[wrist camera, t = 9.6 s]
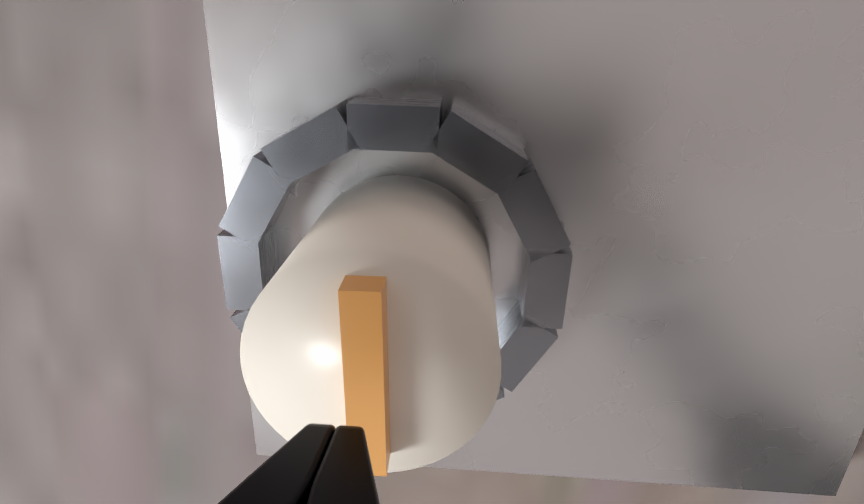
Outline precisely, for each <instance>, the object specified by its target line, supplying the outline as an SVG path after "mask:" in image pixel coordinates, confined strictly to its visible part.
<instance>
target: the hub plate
mask: <svg viewBox="0 0 864 504" xmlns="http://www.w3.org/2000/svg"><path fill="white" fill-rule="evenodd" d="M203 6H204V15H205V23H206V31H207V40H208V48H209V57H210V65H211V73H212V82H213V90H214V99H215V107H216V115H217V124H218V132H219V141H220V149H221V157H222V166H223V174H224V183H225V191H226V199H227V210H226V212H225V214H224V216H223V218H222V220H221V223H220V225H219V227H221V228H222V229H224V230H223V231H222V232H221V233H220V234H219V235H217V238H218V246H219V254H220V261H221V269H222V277H223V285H224V292H225V300H226V308H227V309H231V310H236V311H235V312H234V314H233V315H232V316H231V317H230V318H231V319H232V321H233V322H234V323H235V325H236V326H237V327H238V329H239V330H240V331H241V333H242V331H243V327H244V323H245V320H246V318H247V315H248V313H249V311H250V308H251V307H252V305H253V304H254V302H255V300H256V299H257V297H258V296H259V294H260V293H261V292H262V290H263V289H264V288H265V286H266V285H267V284H268V283H269V281H270V280H271V279H272V277H273V276H274V275H275V274H276V272H277V271H278V270H279V268H280V267H281V266H282V265H283V263H284V262H285V261H286V259H287V258H288V257H289V255H290V254H291V253H292V252H293V250H294V249H295V248H296V246H297V245H298V244H299V243H300V241H301V240H302V239H303V237H304V236H305V235H306V234H307V232H308V231H309V230H310V228H311V227H312V226H313V225H314V223H315V222H316V221H317V219H318V218H319V217H320V215H321V214H322V213H323V212H324V210H325V209H326V208H327V207H328V206H329V204H330V203H331V202H332V201H333V200H334V199H335V198H336V197H337V196H339V195H340V194H341V193H342V192H344V191H345V190H347V189H348V188H350V187H351V186H353V185H356V184H358V183H360V182H362V181H365V180H368V179H371V178H375V177H381V176H388V175H403V176H412V177H417V178H421V179H425V180H428V181H431V182H433V183H436V184H438V185H440V186H442V187H444V188H446V189H447V190H449V191H450V192H452V193H453V194H455V195H456V196H457V197H458V198H459V199H461V200H462V201H463V202H464V203H465V204H466V205H467V206H468V207H469V209H470V210H471V211H472V212H473V213H474V215H475V216H476V218H477V219H478V221H479V222H480V225H481V227H482V229H483V231H484V233H485V236H486V239H487V243H488V248H489V254H490V262H491V272H492V281H493V290H494V299H495V308H496V318H497V327H498V336H499V345H500V355H501V381H500V388H499V392H498V396H497V399H496V402H495V405H494V407H493V409H492V411H491V413H490V415H489V417H488V418H487V420H486V421H485V423H484V424H483V426H482V427H481V429H480V430H479V431H478V432H477V433H476V434H475V435H474V436H473V437H472V438H471V439H470V440H469V441H468V442H467V443H466V444H464V445H463V446H462V447H461V448H460V449H458V450H456V451H455V452H453V453H452V454H450V455H448V456H447V457H445V458H443V459H440V460H438V461H436V462H434V463H431V464H428V465H425V466H423V467H437V468H451V469H465V470H479V471H493V472H507V473H521V474H535V475H549V476H563V477H577V478H591V479H605V480H619V481H633V482H647V483H661V484H675V485H689V486H703V487H717V488H731V489H745V490H759V491H773V492H787V493H801V494H815V495H829V496H836V493H837V491H838V488H839V486H840V484H841V481H842V479H843V477H844V474H845V472H846V470H847V467H848V465H849V463H850V460H851V458H852V455H853V453H854V451H855V448H856V446H857V444H858V441H859V439H860V437H861V434H862V432H863V429H864V0H203ZM250 401H251V409H252V417H253V426H254V434H255V443H256V451H257V455H269V456H272V455H273V454H274V453H275V452H277V451H278V450H279V449H280V448H281V447H282V446H283V445H284V444H286V443H287V442H288V441H287V440H286V439H284V438H283V437H282V436H281V435H280V434H279V433H278V432H277V431H275V430H274V429H273V427H272V426H271V425H270V424H269V423H268V422H267V421H266V420H265V418H264V417H263V416H262V414H261V413H260V411H259V410H258V409H257V407H256V405H255V404H254V402H253V400H252V398H251V396H250Z"/></svg>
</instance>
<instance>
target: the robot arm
mask: <svg viewBox="0 0 864 504" xmlns="http://www.w3.org/2000/svg"><path fill="white" fill-rule="evenodd" d="M218 504H380V503H379V499H378V494H377V489H376V484H375V479H374V474H373V470H372V465H371V460H370V455H369V450H368V446H367V441H366V436H365V431H364V429H363V428H362V427H360V426H346V425H339V426H338V427H336V428H335V426H333V425H331V424H317V423H311V424H308V425H306V426H305V427H304V428H302V429H301V430H300V431H299V432H298V433H297V434H296V435H295V436H293V437H292V438H291V439H290V440H289V441H288V442H287V443H286V444H284V445H283V446H282V447H281V448H280V449H279V450H278V451H277V452H275V453H274V454H273V455H272V456H271V457H270V458H269V459H268V460H266V461H265V462H264V463H263V464H262V465H261V466H260V467H258V468H257V469H256V470H255V471H254V472H253V473H252V474H251V475H249V476H248V477H247V478H246V479H245V480H244V481H243V482H242V483H240V484H239V485H238V486H237V487H236V488H235V489H234V490H233V491H231V492H230V493H229V494H228V495H227V496H226V497H225V498H224V499H222V500H221V501H220V502H219V503H218Z"/></svg>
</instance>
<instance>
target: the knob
mask: <svg viewBox="0 0 864 504" xmlns="http://www.w3.org/2000/svg"><path fill="white" fill-rule="evenodd" d="M240 360H241V368H242V373H243V377H244V381H245V384H246V386H247V389H248V392H249V394H250V396H251V398H252V400H253V402H254V404H255V405H256V407H257V409H258V410H259V411H260V413H261V414H262V416H263V417H264V418H265V420H266V421H267V422H268V423H269V424H270V425H271V426H272V427H273V429H274V430H275V431H277V432H278V433H279V434H280V435H281V436H282V437H283V438H284V439H286V440H287V441H289V440H290V439H291V438H292V437H293V436H295V435H296V434H297V433H298V432H299V431H300V430H301V429H302V428H304V427H305V426H306V425H308V424H311V423H317V424H331V425H333V426H335V428H336V427H338V426H339V425H346V426H360V427H362V428H363V429H364V431H365V436H366V441H367V446H368V450H369V455H370V460H371V465H372V470H373V474H374V476H387V472H397V471H405V470H410V469H415V468H419V467H422V466H425V465H428V464H431V463H434V462H436V461H438V460H440V459H443V458H445V457H447V456H448V455H450V454H452V453H453V452H455V451H456V450H458V449H460V448H461V447H462V446H463V445H464V444H466V443H467V442H468V441H469V440H470V439H471V438H472V437H473V436H474V435H475V434H476V433H477V432H478V431H479V430H480V429H481V427H482V426H483V424H484V423H485V421H486V420H487V418H488V417H489V415H490V413H491V411H492V409H493V407H494V405H495V402H496V399H497V396H498V392H499V388H500V381H501V355H500V345H499V336H498V327H497V318H496V308H495V299H494V290H493V281H492V272H491V262H490V254H489V248H488V243H487V239H486V236H485V233H484V231H483V229H482V227H481V225H480V222H479V221H478V219H477V218H476V216H475V215H474V213H473V212H472V211H471V210H470V209H469V207H468V206H467V205H466V204H465V203H464V202H463V201H462V200H461V199H459V198H458V197H457V196H456V195H455V194H453V193H452V192H450V191H449V190H447V189H446V188H444V187H442V186H440V185H438V184H436V183H433V182H431V181H428V180H425V179H421V178H417V177H412V176H403V175H388V176H381V177H375V178H371V179H368V180H365V181H362V182H360V183H358V184H356V185H353V186H351V187H350V188H348V189H347V190H345V191H344V192H342V193H341V194H340V195H339V196H337V197H336V198H335V199H334V200H333V201H332V202H331V203H330V204H329V206H328V207H327V208H326V209H325V210H324V212H323V213H322V214H321V215H320V217H319V218H318V219H317V221H316V222H315V223H314V225H313V226H312V227H311V228H310V230H309V231H308V232H307V234H306V235H305V236H304V237H303V239H302V240H301V241H300V243H299V244H298V245H297V246H296V248H295V249H294V250H293V252H292V253H291V254H290V255H289V257H288V258H287V259H286V261H285V262H284V263H283V265H282V266H281V267H280V268H279V270H278V271H277V272H276V274H275V275H274V276H273V277H272V279H271V280H270V281H269V283H268V284H267V285H266V286H265V288H264V289H263V290H262V292H261V293H260V294H259V296H258V297H257V299H256V300H255V302H254V304H253V305H252V307H251V308H250V311H249V313H248V315H247V318H246V320H245V323H244V327H243V331H242V335H241V344H240Z"/></svg>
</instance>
